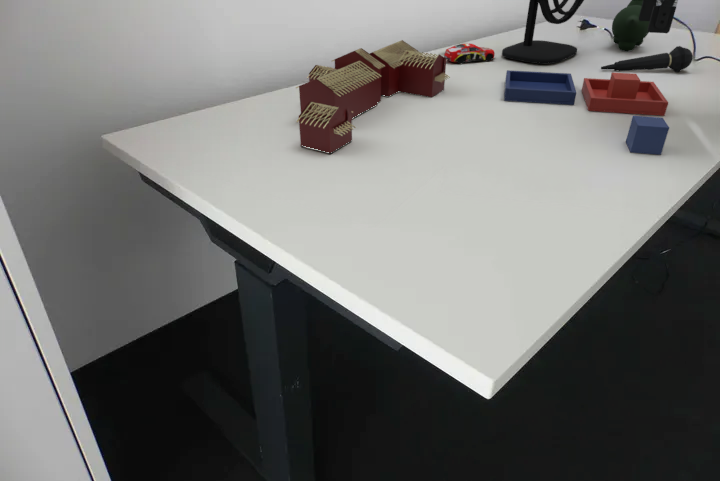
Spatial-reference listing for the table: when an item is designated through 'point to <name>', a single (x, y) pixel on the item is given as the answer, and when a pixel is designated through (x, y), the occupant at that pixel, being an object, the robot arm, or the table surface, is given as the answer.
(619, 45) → the toy figurine
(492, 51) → the race car
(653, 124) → the navy block
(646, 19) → the robot arm
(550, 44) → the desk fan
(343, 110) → the toy houses
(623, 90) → the red block
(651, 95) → the red tray
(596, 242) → the table surface
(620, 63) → the microphone
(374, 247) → the table surface
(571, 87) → the navy tray
